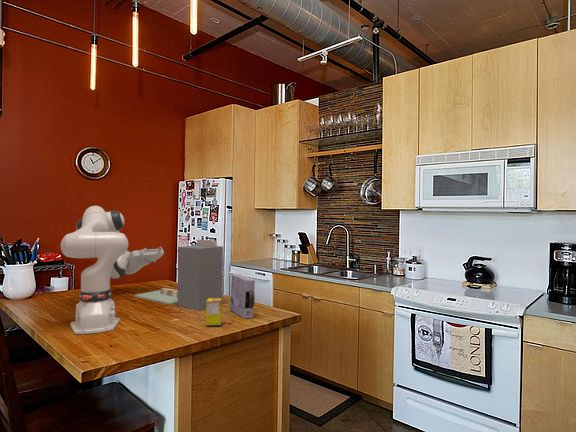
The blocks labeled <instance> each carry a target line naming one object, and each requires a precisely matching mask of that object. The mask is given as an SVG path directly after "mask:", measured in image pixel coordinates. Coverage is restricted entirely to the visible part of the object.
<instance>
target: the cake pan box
mask: <svg viewBox="0 0 576 432" xmlns="http://www.w3.org/2000/svg"><path fill="white" fill-rule="evenodd" d="M230 280H231V281H230V301H229V302H230V303H229V310H230V311H231V312H233V313H235V314H236V315H237V316H239V317H241V318H242V319H244V320H247V318H249V319H253V318H254V307H255V299H256V297H255V288H256V287H255V283H256V281H255V280H254V279H252V278H249V277H247V276H245V275H243V274H241V273H236V274H235V273H231V279H230Z"/></svg>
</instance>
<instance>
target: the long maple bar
mask: <svg viewBox="0 0 576 432" xmlns="http://www.w3.org/2000/svg"><path fill="white" fill-rule="evenodd" d="M159 290H160V294H163V295H168V296H172V297H177V298H178V289H173V288H172V289H171V288H167V287H162V288H160V289H159Z"/></svg>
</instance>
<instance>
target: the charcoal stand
mask: <svg viewBox="0 0 576 432" xmlns="http://www.w3.org/2000/svg"><path fill="white" fill-rule="evenodd" d="M223 274H224V247H223V246H218V245H217V246H216V247H209V246H197V244H196V245H184V246H177V290H178V304H177V307H181V308H187V309H189V310H194V311H202V310H203V311H204V310H206V301H207V300H208V299H209V298H222V305H223V298H224V297H223V294H224V290H223V289H224V286H223V285H224V282H223V281H224V275H223Z"/></svg>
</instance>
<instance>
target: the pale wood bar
mask: <svg viewBox="0 0 576 432" xmlns="http://www.w3.org/2000/svg"><path fill="white" fill-rule="evenodd" d="M217 244H218V241H217V240H214V239H213V240H212V239H211V240H210V239H196V245H197V246H209V247H216V246H218V245H217Z"/></svg>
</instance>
